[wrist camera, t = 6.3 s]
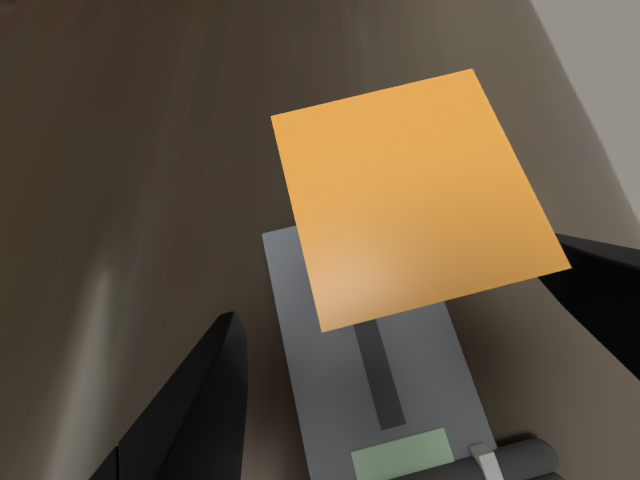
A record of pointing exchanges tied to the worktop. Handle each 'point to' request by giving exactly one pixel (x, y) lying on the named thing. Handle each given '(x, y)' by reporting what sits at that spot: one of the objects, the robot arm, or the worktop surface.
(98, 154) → the worktop surface
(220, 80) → the worktop surface
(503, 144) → the orange-topped grey block
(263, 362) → the worktop surface
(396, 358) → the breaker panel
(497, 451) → the cord bundle
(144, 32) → the worktop surface
